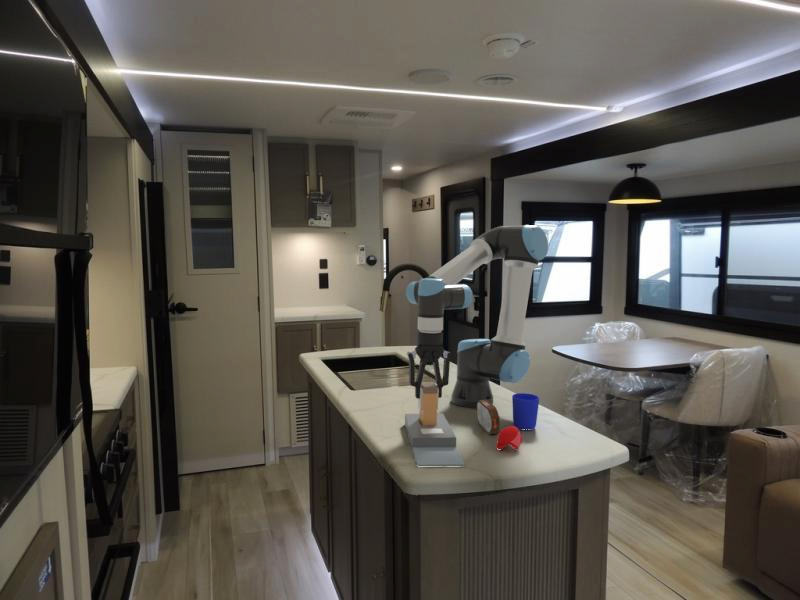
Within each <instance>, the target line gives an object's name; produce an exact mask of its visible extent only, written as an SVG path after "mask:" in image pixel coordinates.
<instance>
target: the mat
mask: <svg viewBox="0 0 800 600" xmlns="http://www.w3.org/2000/svg"><path fill="white" fill-rule="evenodd" d="M413 453H414V454H413ZM412 454H413V457H414V456H415V457H414V460H415V459H416V460H415V463H416V462H417V464H416V466H417V465H418V466H465V467H466V464H465V462H464V459H463V458H462V456H461V454H460V452H459V450H458V448H457V446H456V447H413V450H412Z"/></svg>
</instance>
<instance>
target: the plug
mask: <svg viewBox="0 0 800 600" xmlns="http://www.w3.org/2000/svg"><path fill="white" fill-rule="evenodd" d="M421 387H422V388H423V410H420V409H419V408H418V411H419V412H418V414H419V421H420V423H421V425H437V414H438V410H437V394H438V387H437V384H436V383H435V381H422V383H421Z"/></svg>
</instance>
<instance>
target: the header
mask: <svg viewBox="0 0 800 600" xmlns="http://www.w3.org/2000/svg"><path fill="white" fill-rule="evenodd" d="M404 427H405V430H406V433H407V437H408V439H409V443H411V444H410V447H411V450H412V451H413V447H456V448H457V436H456V434H455V432H454V431H453V429H452V427H451V425H450V424H449V422H448V420H447V418H446V416H445V415H444V413H437V425H421V423H420V421H419V413H404Z"/></svg>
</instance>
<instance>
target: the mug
mask: <svg viewBox="0 0 800 600" xmlns="http://www.w3.org/2000/svg"><path fill="white" fill-rule="evenodd" d="M511 397H512V400H511V401H512V402H511V403H512V423H513V426H515V427H516V428H518V429H519V430H520V429H525V430H524V431H529V430H528V429H533V430H534V429H536V427H537V420H538V414H539V413H538V412H539V406H540V405H539V404H540V397H539V396H538V395H537V394H536V395H535V394H532V393H525V392H520V393H515V394H512V396H511ZM526 429H527V430H526Z"/></svg>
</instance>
